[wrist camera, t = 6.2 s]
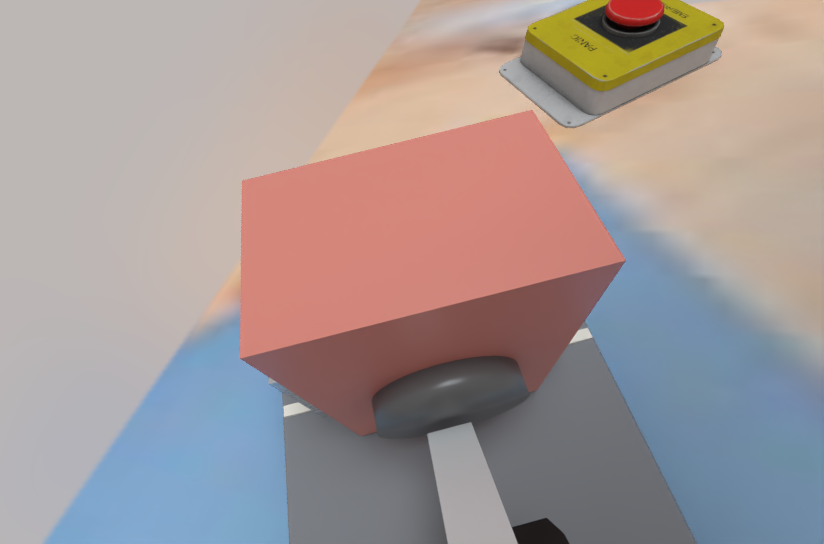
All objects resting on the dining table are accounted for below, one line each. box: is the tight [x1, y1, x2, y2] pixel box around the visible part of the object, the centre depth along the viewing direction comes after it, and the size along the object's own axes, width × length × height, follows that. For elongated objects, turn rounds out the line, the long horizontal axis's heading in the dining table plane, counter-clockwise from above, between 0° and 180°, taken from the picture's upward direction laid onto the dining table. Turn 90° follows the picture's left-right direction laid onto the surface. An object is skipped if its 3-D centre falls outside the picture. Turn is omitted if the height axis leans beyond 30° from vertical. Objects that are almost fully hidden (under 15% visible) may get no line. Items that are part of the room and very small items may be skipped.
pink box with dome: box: [240, 110, 626, 439], centre depth 13 cm, size 8×6×11 cm
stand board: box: [282, 321, 697, 544], centre depth 17 cm, size 15×26×2 cm, turn 13°
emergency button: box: [499, 0, 724, 128], centre depth 30 cm, size 9×4×15 cm
